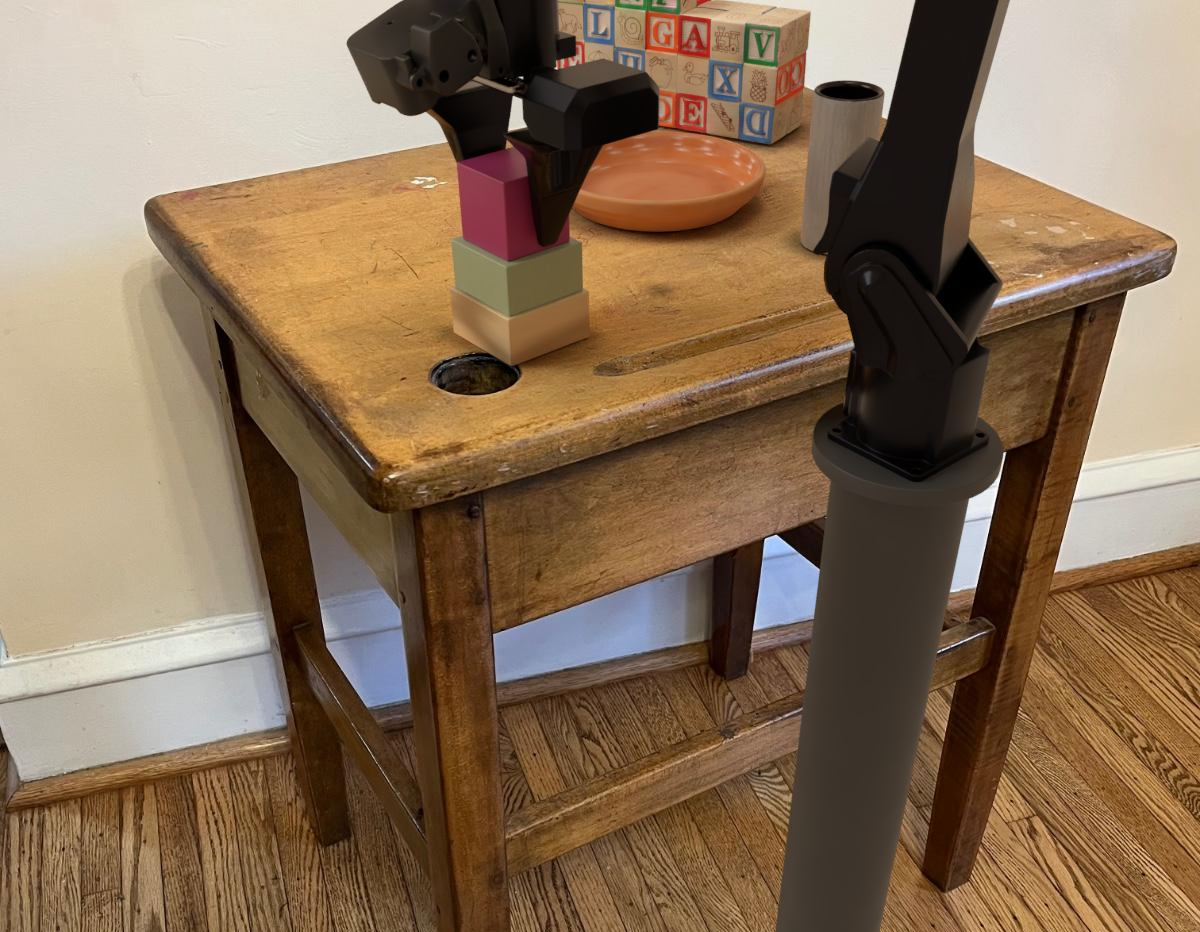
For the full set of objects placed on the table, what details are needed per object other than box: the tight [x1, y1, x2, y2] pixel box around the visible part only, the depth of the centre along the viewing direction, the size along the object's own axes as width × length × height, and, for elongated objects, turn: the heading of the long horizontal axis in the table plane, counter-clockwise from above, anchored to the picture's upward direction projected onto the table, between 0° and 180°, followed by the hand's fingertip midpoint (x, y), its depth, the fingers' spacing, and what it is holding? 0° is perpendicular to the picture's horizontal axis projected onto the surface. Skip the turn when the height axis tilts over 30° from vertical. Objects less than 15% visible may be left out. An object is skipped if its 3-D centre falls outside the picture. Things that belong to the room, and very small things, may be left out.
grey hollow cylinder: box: [800, 79, 885, 255], centre depth 83 cm, size 4×4×10 cm
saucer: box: [572, 131, 767, 233], centre depth 92 cm, size 16×16×3 cm
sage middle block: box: [450, 235, 584, 316], centre depth 73 cm, size 6×6×3 cm
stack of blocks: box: [556, 0, 812, 145], centre depth 105 cm, size 21×6×12 cm, turn 58°
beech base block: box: [449, 285, 591, 367], centre depth 75 cm, size 6×6×3 cm
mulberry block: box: [456, 146, 571, 262], centre depth 71 cm, size 4×4×4 cm
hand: (516, 230), depth 72 cm, fingers open, 6 cm apart
